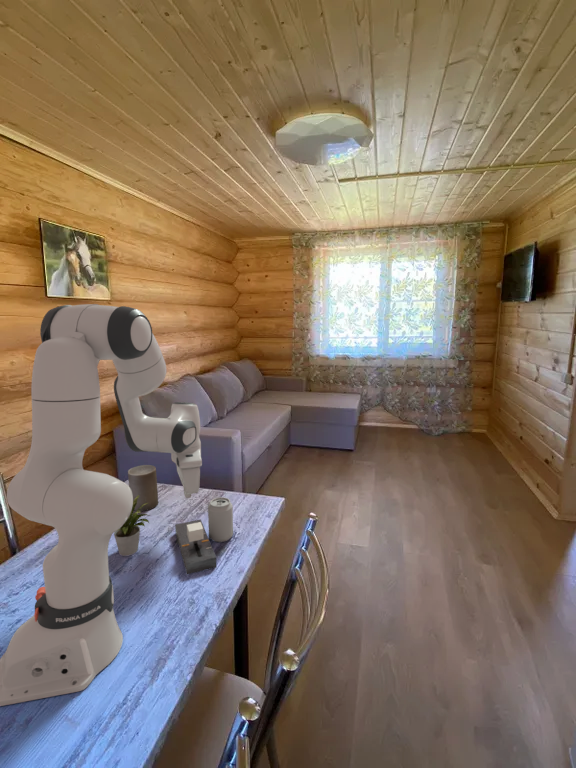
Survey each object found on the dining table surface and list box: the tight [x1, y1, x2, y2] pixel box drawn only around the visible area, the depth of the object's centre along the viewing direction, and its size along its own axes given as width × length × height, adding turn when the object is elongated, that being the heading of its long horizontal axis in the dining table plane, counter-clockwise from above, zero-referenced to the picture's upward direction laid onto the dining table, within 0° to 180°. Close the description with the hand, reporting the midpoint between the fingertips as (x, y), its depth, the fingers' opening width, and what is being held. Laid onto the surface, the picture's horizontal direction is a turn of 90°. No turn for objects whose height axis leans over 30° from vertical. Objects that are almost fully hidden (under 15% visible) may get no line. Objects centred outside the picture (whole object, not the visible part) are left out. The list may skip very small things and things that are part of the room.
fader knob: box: [187, 522, 204, 544], centre depth 110 cm, size 4×4×5 cm
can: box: [207, 496, 234, 543], centre depth 119 cm, size 8×8×12 cm
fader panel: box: [174, 518, 217, 575], centre depth 113 cm, size 8×22×3 cm, turn 24°
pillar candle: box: [127, 464, 159, 512], centre depth 139 cm, size 10×10×15 cm
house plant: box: [113, 495, 151, 557], centre depth 110 cm, size 14×14×16 cm
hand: (187, 496), depth 119 cm, fingers closed
